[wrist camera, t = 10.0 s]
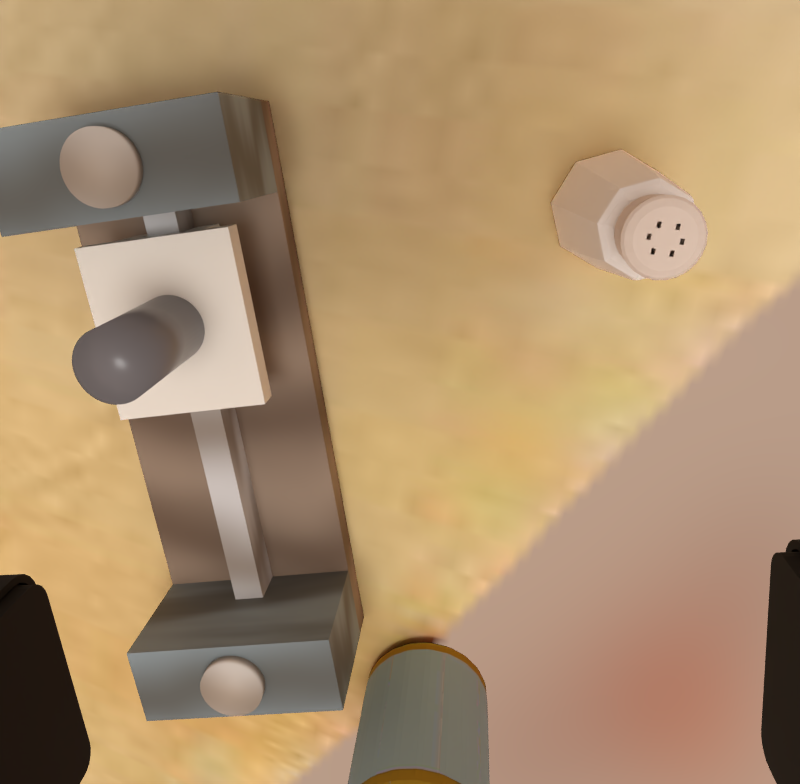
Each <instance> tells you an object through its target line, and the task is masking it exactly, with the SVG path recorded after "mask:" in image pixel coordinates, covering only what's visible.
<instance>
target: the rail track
mask: <svg viewBox="0 0 800 784" xmlns="http://www.w3.org/2000/svg"><path fill="white" fill-rule="evenodd" d="M213 224H219V226H225V225H232V224H236V225H237V230H238V234H239V239H240V244H241V249H242V254H243V259H244V264H245V268H246V273H247V278H248V283H249V288H250V293H251V298H252V302H253V307H254V312H255V317H256V322H257V327H258V332H259V336H260V341H261V346H262V351H263V356H264V361H265V366H266V370H267V375H268V380H269V385H270V390H271V395H272V396H271V397H270V399H269V400H268V401H267V402H266V404H262V405H253V406H244V407H235V408H226V409H217V410H208V411H199V412H189V413H180V414H171V415H162V416H153V417H144V418H135V419H129V423H130V426H131V430H132V434H133V438H134V441H135V445H136V449H137V452H138V456H139V460H140V464H141V467H142V471H143V475H144V478H145V482H146V486H147V490H148V493H149V497H150V501H151V505H152V508H153V512H154V516H155V519H156V523H157V527H158V531H159V534H160V538H161V542H162V545H163V549H164V553H165V557H166V560H167V564H168V568H169V571H170V575H171V579H172V583H173V585H172V587H171V588H170V590H169V591H168V593H167V594H166V596H165V597H164V599H163V600H162V602H161V603H160V605H159V606H158V608H157V609H156V611H155V612H154V614H153V615H152V617H151V618H150V620H149V621H148V623H147V624H146V626H145V627H144V629H143V630H142V632H141V633H140V635H139V636H138V638H137V639H136V640H135V642H134V643H133V645H132V646H131V648H130V649H129V651H128V652H127V656H128V660H129V663H130V666H131V670H132V673H133V676H134V680H135V683H136V686H137V690H138V693H139V696H140V700H141V703H142V706H143V710H144V713H145V716H146V720H147V721H155V720H173V719H191V718H209V717H228V716H246V715H264V714H282V713H300V712H318V711H336V710H343V708H344V703H345V699H346V694H347V690H348V685H349V681H350V676H351V672H352V667H353V663H354V658H355V654H356V650H357V645H358V641H359V636H360V632H361V627H362V623H363V618H364V616H363V610H362V605H361V599H360V594H359V588H358V583H357V578H356V572H355V567H354V561H353V556H352V550H351V545H350V540H349V534H348V529H347V523H346V518H345V512H344V507H343V502H342V496H341V491H340V485H339V480H338V474H337V469H336V463H335V458H334V453H333V447H332V442H331V436H330V431H329V425H328V420H327V415H326V409H325V404H324V398H323V393H322V387H321V382H320V376H319V371H318V366H317V360H316V355H315V349H314V344H313V338H312V333H311V328H310V322H309V317H308V311H307V306H306V300H305V295H304V290H303V284H302V279H301V273H300V268H299V262H298V257H297V251H296V246H295V241H294V235H293V230H292V224H291V219H290V213H289V208H288V203H287V197H286V192H285V186H284V181H283V175H282V170H281V165H280V159H279V154H278V148H277V143H276V137H275V132H274V126H273V121H272V116H271V110H270V105H269V101H264V100H259V99H253V98H248V97H243V96H237V95H232V94H227V93H221V92H214V93H208V94H202V95H196V96H190V97H184V98H178V99H172V100H166V101H160V102H154V103H148V104H142V105H136V106H130V107H124V108H118V109H112V110H106V111H100V112H94V113H87V114H81V115H75V116H69V117H63V118H57V119H51V120H45V121H39V122H33V123H27V124H21V125H15V126H9V127H3V128H0V232H1V236H2V237H4V236H11V235H18V234H25V233H32V232H39V231H45V230H52V229H59V228H66V227H73V226H77V229H78V233H79V237H80V240H81V244H82V246H86V245H92V244H99V243H106V242H113V241H119V240H122V239H126V238H129V237H133V236H136V235H143V234H147V235H148V236H155V235H162V234H169V233H176V232H183V231H186V230H189V229H193V228H196V227H199V226H206V225H213Z"/></svg>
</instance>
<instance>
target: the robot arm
mask: <svg viewBox="0 0 800 784" xmlns="http://www.w3.org/2000/svg"><path fill="white" fill-rule="evenodd" d="M770 575H771V576H770V592H769V608H768V625H767V643H766V660H765V677H764V694H763V711H762V728H761V731H762V732H761V737H762V745H763V749H764V754H765V758H766V761H767V763H768V766H769V768H770V770H771V772H772V775H773V777H774V779H775V781H776V783H777V784H800V540H792V541H790V542H789V544H788V546H787V548H786V552H781V553H775V554H774V555H773V558H772V562H771V574H770ZM90 750H91V748H90V742H89V738H88V735H87V731H86V728H85V724H84V721H83V717H82V714H81V710H80V707H79V703H78V700H77V696H76V693H75V689H74V686H73V683H72V679H71V676H70V672H69V669H68V665H67V662H66V658H65V655H64V651H63V648H62V644H61V641H60V637H59V634H58V630H57V627H56V623H55V620H54V616H53V613H52V609H51V606H50V603H49V599H48V596H47V593H46V591H45V589H44V588H43V587H42V586H40V585H36V584H35V582H34V580H33V579H32V578H31V577H30V576H27V575H25V574H18V575H0V784H80V782H81V780H82V779H83V777H84V775H85V773H86V771H87V768H88V765H89V761H90Z"/></svg>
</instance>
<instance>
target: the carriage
mask: <svg viewBox="0 0 800 784" xmlns="http://www.w3.org/2000/svg"><path fill="white" fill-rule="evenodd" d="M74 250H75V254H76V257H77V261H78V265H79V268H80V272H81V276H82V279H83V283H84V287H85V290H86V294H87V298H88V301H89V305H90V309H91V312H92V316H93V320H94V323H95V327H96V328H94V329H92V330H90V331H88V332H86V333H85V334H84V335H83V336H82V337H81V338H80V339H79V340H78V341H77V343H76V345H75V347H74V350H73V355H72V366H73V370H74V373H75V376H76V378H77V380H78V382H79V383H80V385H81V386H82V387H83V389H84V390H85V391H86V392H87V393H88V394H90V395H91V396H92V397H94V398H95V399H97V400H99V401H101V402H104V403H108V404H114V405H117V408H118V412H119V415H120V419H121V420H126V419H135V418H144V417H153V416H162V415H171V414H180V413H189V412H199V411H208V410H217V409H226V408H235V407H244V406H253V405H262V404H266V402H267V401H268V400H269V399H270V397H271V396H272V395H271V390H270V385H269V380H268V375H267V370H266V366H265V361H264V356H263V351H262V346H261V341H260V336H259V332H258V327H257V322H256V317H255V312H254V307H253V302H252V298H251V293H250V288H249V283H248V278H247V273H246V268H245V264H244V259H243V254H242V249H241V244H240V239H239V234H238V230H237V225H236V224H232V225H225V226H219V224H213V225H206V226H199V227H196V228H193V229H189V230H186V231H183V232H176V233H169V234H162V235H155V236H148V235H147V234H143V235H136V236H133V237H129V238H126V239H122V240H119V241H113V242H106V243H99V244H92V245H86V246H82V247H79V248H75V249H74Z"/></svg>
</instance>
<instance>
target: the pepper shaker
mask: <svg viewBox="0 0 800 784" xmlns="http://www.w3.org/2000/svg"><path fill="white" fill-rule="evenodd" d="M551 206H552V211H553V215H554V220H555V225H556V229H557V234H558V239H559V243H560V246H561V247H563V248H564V249H566V250H568V251H569V252H571V253H573V254H574V255H576V256H578V257H579V258H581V259H583V260H584V261H586V262H588V263H589V264H591V265H593V266H594V267H596V268H598V269H601V270H604V271H607V272H610V273H613V274H616V275H619V276H622V277H625V278H628V279H631V280H641V279H645V278H648V279H652V280H668V279H672V278H676V277H678V276H680V275H682V274H684V273H686V272H687V271H688V270H689V269H691V268H692V267H693V266H694V265H695V264H696V263H697V261H698V260H699V259H700V257H701V256H702V254H703V251H704V249H705V246H706V243H707V235H708V231H707V225H706V220H705V218H704V216H703V214H702V212H701V211H700V210H699V209H698V207H697V206H696V205H695V204H694V201H693V198H692V196H691V195H690V194H689V193H687V192H686V191H684V190H683V189H682V188H680V187H679V186H678V185H676V184H675V183H674V182H672V181H671V180H669V179H668V178H667V177H665V176H664V175H663V174H661V173H660V172H658V171H657V170H655V169H653V168H652V167H650V166H648V165H647V164H645V163H643V162H642V161H640V160H639V159H637V158H635V157H634V156H632V155H630V154H629V153H627V152H626V151H624V150H622V149H620V150H617V151H613V152H610V153H606V154H603V155H599V156H595V157H592V158H588V159H585V160H581V161H577V162H576V163H575V164H574V166H573V167H572V169H571V171H570V172H569V174H568V175H567V177H566V179H565V180H564V182H563V184H562V185H561V187H560V188H559V190H558V192H557V193H556V195H555V196H554V198H553V200H552V201H551Z"/></svg>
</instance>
